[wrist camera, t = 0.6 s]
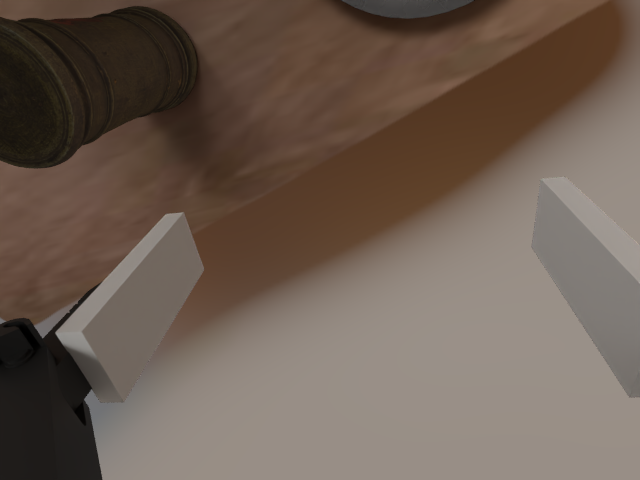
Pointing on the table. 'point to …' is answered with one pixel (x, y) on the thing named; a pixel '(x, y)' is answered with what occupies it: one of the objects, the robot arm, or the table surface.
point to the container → (86, 79)
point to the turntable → (407, 7)
